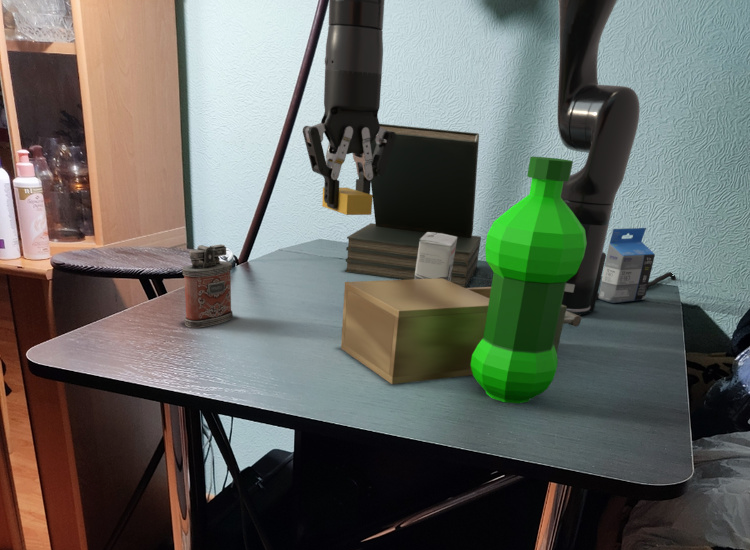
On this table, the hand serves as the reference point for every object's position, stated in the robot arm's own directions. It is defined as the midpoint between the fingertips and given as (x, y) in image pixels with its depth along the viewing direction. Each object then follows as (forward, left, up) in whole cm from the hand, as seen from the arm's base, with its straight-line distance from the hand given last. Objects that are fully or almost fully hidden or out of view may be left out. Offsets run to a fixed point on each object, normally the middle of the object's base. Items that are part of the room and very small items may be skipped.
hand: (346, 207), depth 103 cm
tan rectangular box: (+1, +24, -15) cm, 28 cm away
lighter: (+21, +2, -15) cm, 26 cm away
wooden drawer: (-13, +24, -14) cm, 31 cm away
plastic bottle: (-3, +38, -15) cm, 41 cm away
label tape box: (-56, +4, -15) cm, 58 cm away
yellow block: (0, 0, 0) cm, 0 cm away
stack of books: (-28, -24, -15) cm, 40 cm away
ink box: (-12, +7, -15) cm, 20 cm away
